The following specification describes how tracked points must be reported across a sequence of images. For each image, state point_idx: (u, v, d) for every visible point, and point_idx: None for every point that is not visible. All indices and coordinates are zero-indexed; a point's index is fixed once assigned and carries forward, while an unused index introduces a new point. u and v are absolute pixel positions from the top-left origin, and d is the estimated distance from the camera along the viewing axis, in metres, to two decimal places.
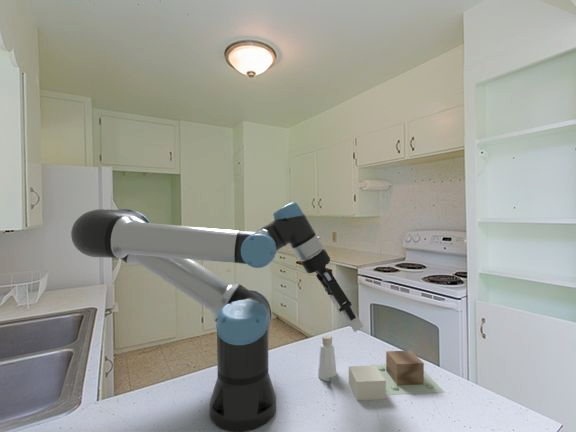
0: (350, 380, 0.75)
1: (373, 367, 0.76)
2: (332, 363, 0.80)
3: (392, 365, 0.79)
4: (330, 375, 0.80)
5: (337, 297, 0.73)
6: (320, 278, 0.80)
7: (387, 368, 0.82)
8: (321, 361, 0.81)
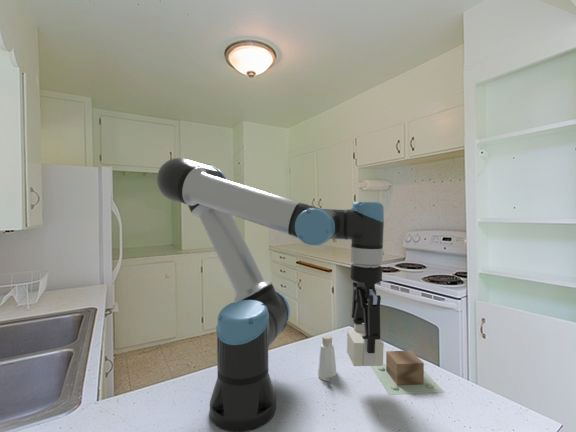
0: (348, 344, 0.75)
1: None
2: (332, 363, 0.80)
3: (392, 365, 0.79)
4: (330, 375, 0.80)
5: (371, 325, 0.67)
6: (362, 293, 0.71)
7: (387, 368, 0.82)
8: (321, 361, 0.81)
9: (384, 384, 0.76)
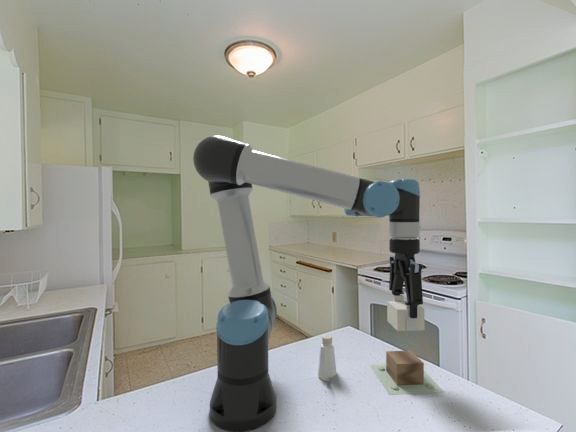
0: (389, 313, 0.81)
1: None
2: (332, 363, 0.80)
3: (392, 365, 0.79)
4: (330, 375, 0.80)
5: (414, 291, 0.72)
6: (402, 264, 0.77)
7: (387, 368, 0.82)
8: (321, 361, 0.81)
9: (384, 384, 0.76)
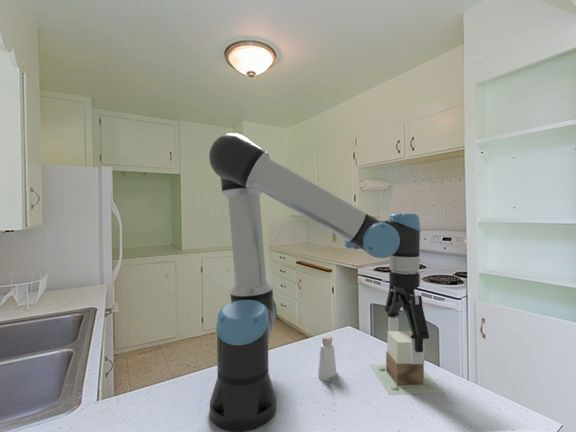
0: (389, 343, 0.81)
1: (410, 332, 0.82)
2: (332, 363, 0.80)
3: (392, 365, 0.79)
4: (330, 375, 0.80)
5: (418, 324, 0.70)
6: (402, 297, 0.77)
7: (387, 368, 0.82)
8: (321, 361, 0.81)
9: (384, 384, 0.76)
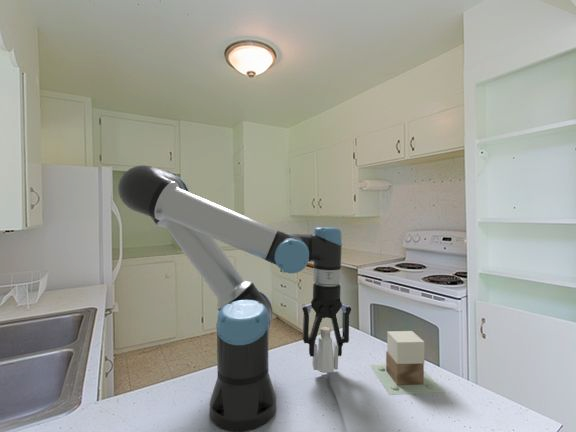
0: (389, 343, 0.81)
1: (410, 332, 0.82)
2: (330, 355, 0.80)
3: (392, 365, 0.79)
4: (328, 367, 0.80)
5: (303, 328, 0.82)
6: None
7: (387, 368, 0.82)
8: (319, 353, 0.81)
9: (384, 384, 0.76)
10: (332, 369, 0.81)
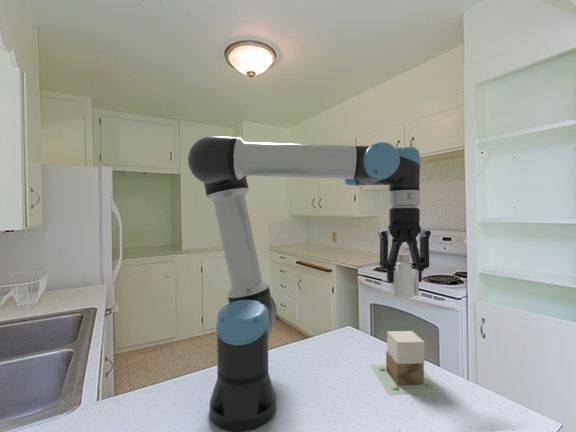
0: (389, 343, 0.81)
1: (410, 332, 0.82)
2: (411, 280, 0.77)
3: (392, 365, 0.79)
4: (409, 292, 0.77)
5: (380, 255, 0.79)
6: None
7: (387, 368, 0.82)
8: (399, 278, 0.78)
9: (384, 384, 0.76)
10: (413, 294, 0.78)
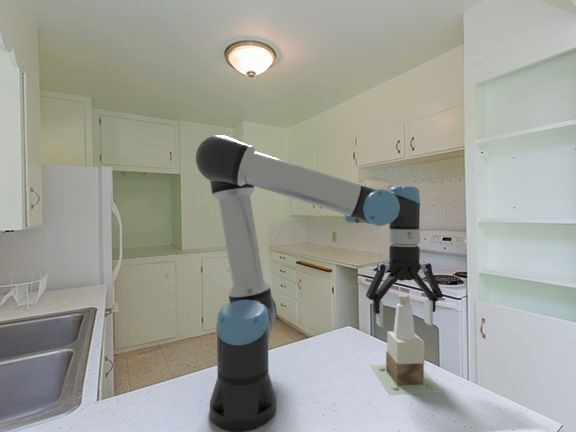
0: (389, 343, 0.81)
1: None
2: (411, 322, 0.78)
3: (392, 365, 0.79)
4: (410, 334, 0.77)
5: (370, 285, 0.79)
6: None
7: (387, 368, 0.82)
8: (399, 320, 0.78)
9: (384, 384, 0.76)
10: (413, 337, 0.78)
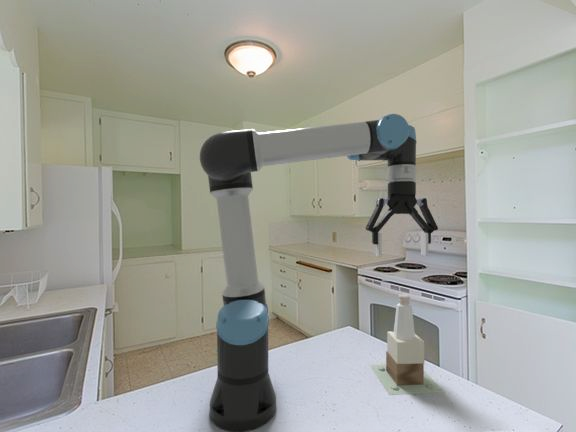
0: (389, 343, 0.81)
1: None
2: (411, 322, 0.78)
3: (392, 365, 0.79)
4: (410, 334, 0.77)
5: (370, 219, 0.85)
6: None
7: (387, 368, 0.82)
8: (399, 320, 0.78)
9: (384, 384, 0.76)
10: (413, 337, 0.78)
